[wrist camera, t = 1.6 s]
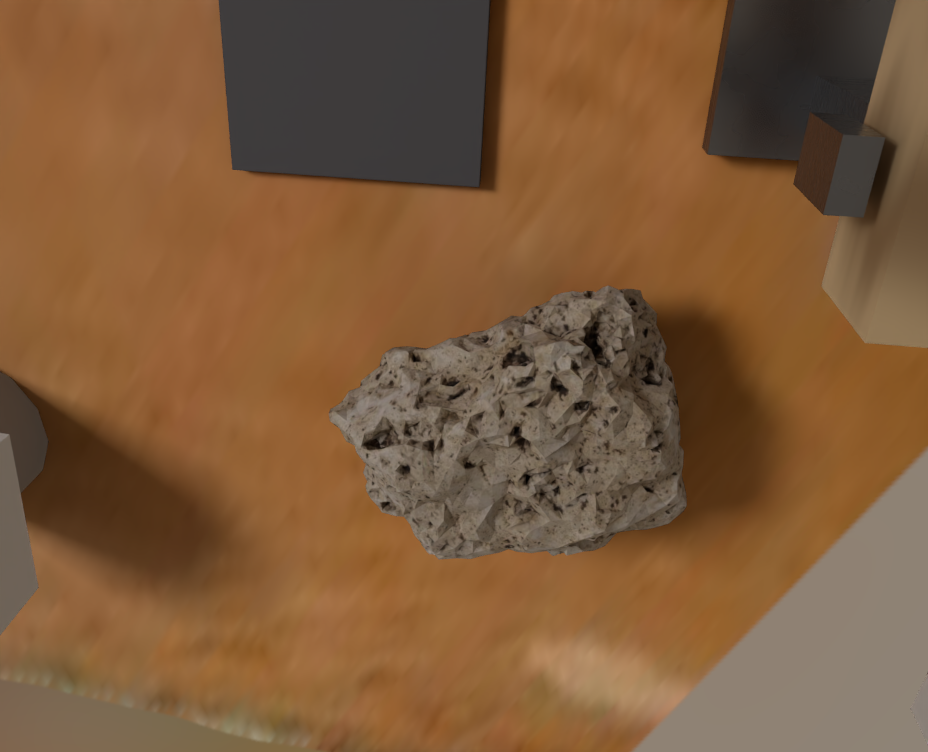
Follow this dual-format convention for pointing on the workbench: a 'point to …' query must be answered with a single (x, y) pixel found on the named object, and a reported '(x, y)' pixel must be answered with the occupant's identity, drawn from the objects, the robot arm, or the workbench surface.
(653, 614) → the workbench surface
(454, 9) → the mat
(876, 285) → the rail
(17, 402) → the cup
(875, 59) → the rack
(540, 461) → the pumice stone
